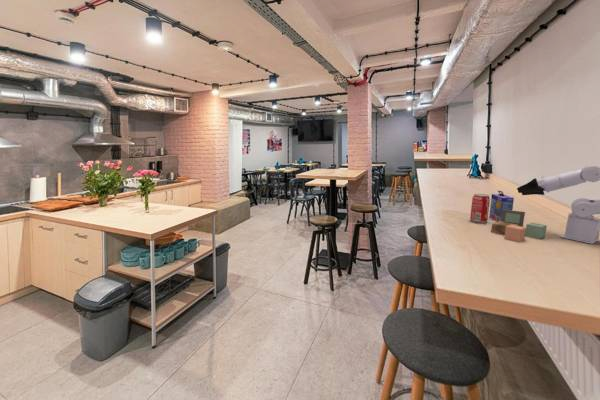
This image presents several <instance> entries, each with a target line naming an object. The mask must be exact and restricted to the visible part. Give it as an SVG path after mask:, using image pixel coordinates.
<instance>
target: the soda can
mask: <svg viewBox="0 0 600 400" xmlns="http://www.w3.org/2000/svg"><path fill="white" fill-rule="evenodd" d="M490 205H491V198H490V195H489V194H485V193H474V194H473V196H472V201H471V208H470V221H471V222H473V223H478V224H484V223H487V222H488V218H489V213H490Z"/></svg>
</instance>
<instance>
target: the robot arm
mask: <svg viewBox="0 0 600 400" xmlns="http://www.w3.org/2000/svg"><path fill="white" fill-rule="evenodd" d="M540 178H541V180H537V178H536V177H535V178H532V179H531V180H530V181H528V182H527V183H525V184H523V185H521V186H518V187H517V188H516V190H517V193H518V194H521V195H522V196H530V195H540V196H544V195H545V192H546V193H547V194H548V193H550V192H554V191H558V190H562V189H566V188H570V187H575V186H578V185H581V184H584V183H587V182H589V183H596V182H599V181H600V166H596V165H586V166H584V167H582V168H581V169H580V168H578V169H575V170H570V171H567V172H563V173H560V174H559V173H558V174H555V175H552V176H548V177H545V176H543V175H540ZM594 215H595V216H596V215H600V199H588V198H583V197H581V198H577V199H575V200H573V202H572V203H571V212H570V213H568V215H567V221H566V226H565V231H564V234H562V235H560V238H563V239H567V240H571V241H572V240H573V241H577V242H582V243H585V244H586V243H587V244H592V245H593V244H595V243H597V242H598V241H599V238H600V219H596V218H595V216H594Z"/></svg>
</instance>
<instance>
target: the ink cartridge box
mask: <svg viewBox="0 0 600 400" xmlns="http://www.w3.org/2000/svg"><path fill="white" fill-rule="evenodd" d="M497 192H498V193H492V194H491V198H490V205H489V213H488V218H490V219H491V220H494V221H496V222H498V221H501V218H502V211H503V209H504V210H513V209H514V201H515V198H514V197H513V196H509V195H507V194H504V192H503V191H501V190H497ZM513 211H514V210H513Z"/></svg>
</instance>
